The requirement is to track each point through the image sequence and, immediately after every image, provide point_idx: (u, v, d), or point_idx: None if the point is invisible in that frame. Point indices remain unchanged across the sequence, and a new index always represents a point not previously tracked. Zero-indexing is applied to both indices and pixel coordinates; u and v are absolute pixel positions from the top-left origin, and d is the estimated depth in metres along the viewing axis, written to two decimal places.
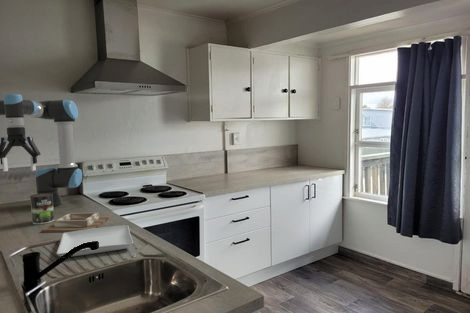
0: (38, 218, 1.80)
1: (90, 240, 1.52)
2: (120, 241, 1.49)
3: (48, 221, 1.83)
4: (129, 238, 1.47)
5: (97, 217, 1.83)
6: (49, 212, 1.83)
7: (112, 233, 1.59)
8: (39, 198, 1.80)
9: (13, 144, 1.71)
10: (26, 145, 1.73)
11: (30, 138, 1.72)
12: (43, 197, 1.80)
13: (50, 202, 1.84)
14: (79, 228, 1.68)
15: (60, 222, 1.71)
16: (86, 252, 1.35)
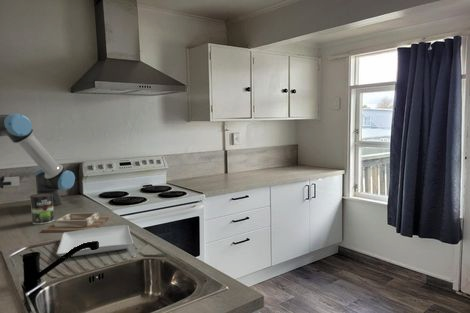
0: (38, 218, 1.80)
1: (90, 240, 1.52)
2: (120, 241, 1.49)
3: (48, 221, 1.83)
4: (129, 238, 1.47)
5: (97, 217, 1.83)
6: (49, 212, 1.83)
7: (112, 233, 1.59)
8: (39, 198, 1.80)
9: None
10: None
11: None
12: (43, 197, 1.80)
13: (50, 202, 1.84)
14: (79, 228, 1.68)
15: (60, 222, 1.71)
16: (86, 252, 1.35)
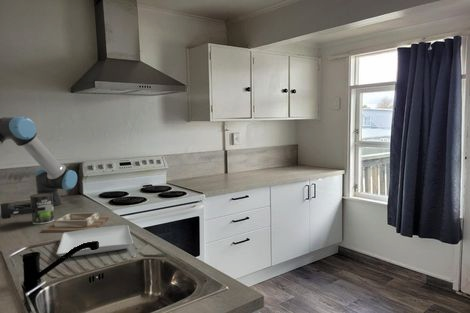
0: (38, 218, 1.80)
1: (90, 240, 1.52)
2: (120, 241, 1.49)
3: (48, 221, 1.83)
4: (129, 238, 1.47)
5: (97, 217, 1.83)
6: (49, 212, 1.83)
7: (112, 233, 1.59)
8: (39, 198, 1.80)
9: None
10: None
11: (15, 213, 1.73)
12: (43, 197, 1.80)
13: (50, 202, 1.84)
14: (79, 228, 1.68)
15: (60, 222, 1.71)
16: (86, 252, 1.35)
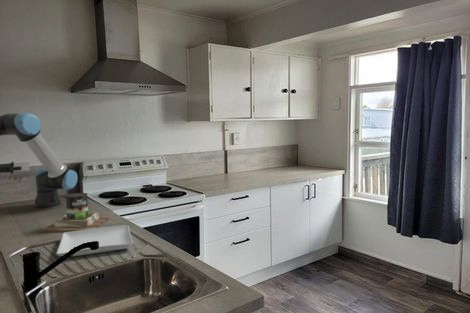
0: (74, 218, 1.73)
1: (90, 240, 1.52)
2: (120, 241, 1.49)
3: None
4: (129, 238, 1.47)
5: (97, 217, 1.83)
6: (84, 213, 1.76)
7: (112, 233, 1.59)
8: (74, 198, 1.73)
9: None
10: None
11: None
12: (78, 197, 1.73)
13: (85, 202, 1.77)
14: (79, 228, 1.68)
15: (60, 222, 1.71)
16: (86, 252, 1.35)
